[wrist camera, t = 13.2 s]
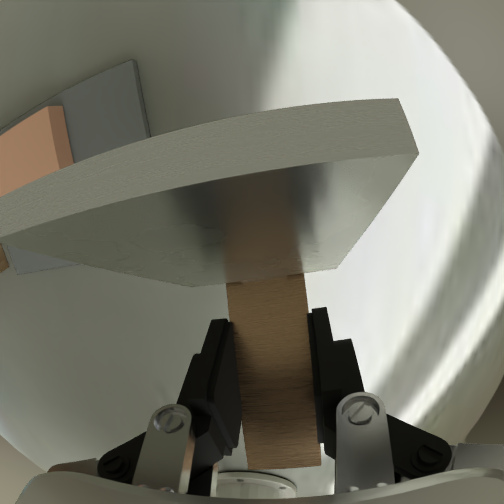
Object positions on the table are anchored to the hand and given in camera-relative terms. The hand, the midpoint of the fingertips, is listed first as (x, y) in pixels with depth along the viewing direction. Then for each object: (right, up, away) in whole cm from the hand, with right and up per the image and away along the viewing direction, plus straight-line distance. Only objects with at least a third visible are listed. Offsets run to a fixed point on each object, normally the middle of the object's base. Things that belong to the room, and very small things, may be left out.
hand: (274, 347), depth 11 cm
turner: (-1, +4, -3) cm, 5 cm away
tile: (-15, +5, +7) cm, 17 cm away
